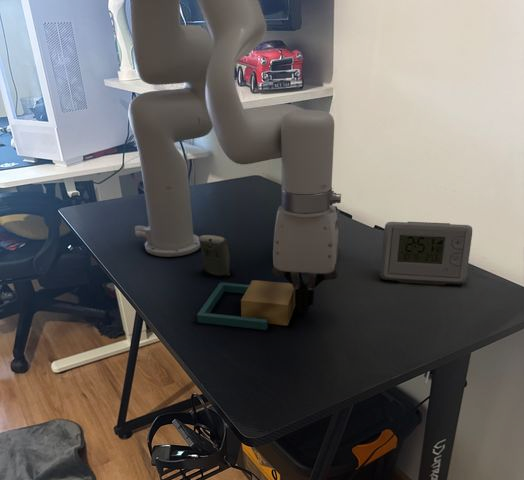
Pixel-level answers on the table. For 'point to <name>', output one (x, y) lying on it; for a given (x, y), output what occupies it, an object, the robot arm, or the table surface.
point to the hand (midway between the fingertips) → (304, 307)
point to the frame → (228, 320)
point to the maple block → (269, 302)
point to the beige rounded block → (215, 255)
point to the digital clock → (425, 252)
